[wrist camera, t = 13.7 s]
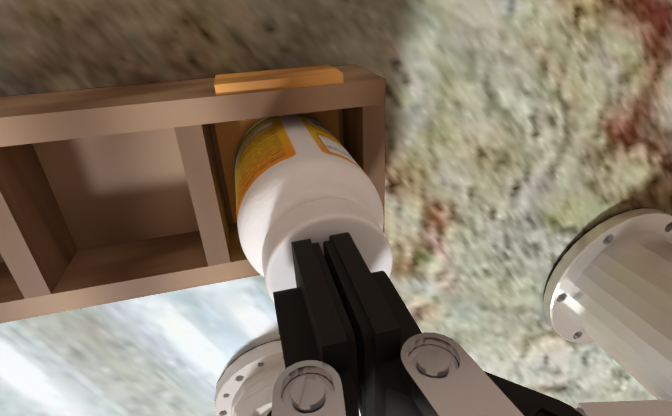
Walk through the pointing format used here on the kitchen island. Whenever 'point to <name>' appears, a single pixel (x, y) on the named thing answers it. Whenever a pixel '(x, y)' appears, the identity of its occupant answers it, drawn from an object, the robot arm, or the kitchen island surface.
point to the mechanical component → (250, 382)
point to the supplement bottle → (302, 197)
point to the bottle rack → (151, 180)
